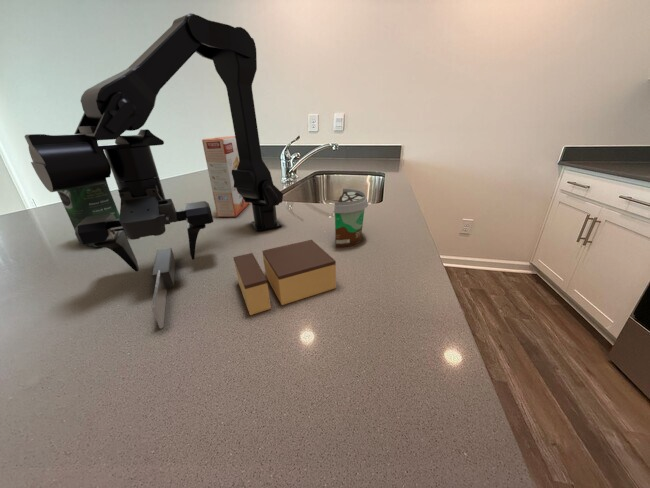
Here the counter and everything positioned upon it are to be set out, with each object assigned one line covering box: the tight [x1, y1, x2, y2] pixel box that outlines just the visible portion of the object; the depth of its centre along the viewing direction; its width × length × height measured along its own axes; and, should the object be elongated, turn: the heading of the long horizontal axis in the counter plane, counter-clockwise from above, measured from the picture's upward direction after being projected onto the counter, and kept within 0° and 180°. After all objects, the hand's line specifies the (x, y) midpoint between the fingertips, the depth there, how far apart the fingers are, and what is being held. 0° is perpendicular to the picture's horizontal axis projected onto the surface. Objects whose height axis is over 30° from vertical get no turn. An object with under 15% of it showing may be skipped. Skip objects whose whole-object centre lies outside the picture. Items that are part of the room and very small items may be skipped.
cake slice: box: [233, 252, 272, 316], centre depth 39 cm, size 9×3×5 cm, turn 27°
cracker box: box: [201, 135, 250, 218], centre depth 75 cm, size 14×6×21 cm, turn 179°
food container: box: [333, 188, 369, 248], centre depth 56 cm, size 12×6×10 cm, turn 168°
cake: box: [261, 239, 337, 306], centre depth 42 cm, size 9×9×5 cm
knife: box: [151, 247, 177, 330], centre depth 41 cm, size 20×2×4 cm, turn 27°
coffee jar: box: [56, 179, 128, 248], centre depth 57 cm, size 10×8×19 cm
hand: (166, 264), depth 47 cm, fingers open, 9 cm apart
